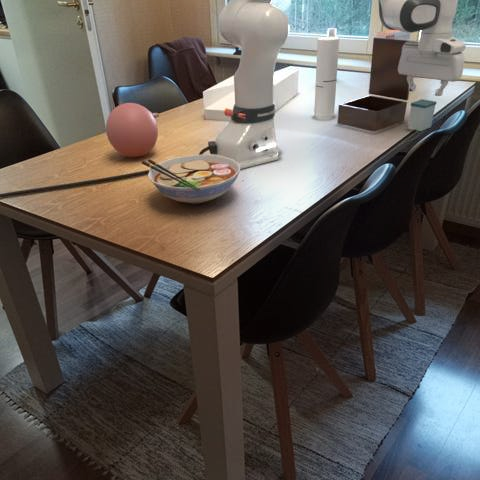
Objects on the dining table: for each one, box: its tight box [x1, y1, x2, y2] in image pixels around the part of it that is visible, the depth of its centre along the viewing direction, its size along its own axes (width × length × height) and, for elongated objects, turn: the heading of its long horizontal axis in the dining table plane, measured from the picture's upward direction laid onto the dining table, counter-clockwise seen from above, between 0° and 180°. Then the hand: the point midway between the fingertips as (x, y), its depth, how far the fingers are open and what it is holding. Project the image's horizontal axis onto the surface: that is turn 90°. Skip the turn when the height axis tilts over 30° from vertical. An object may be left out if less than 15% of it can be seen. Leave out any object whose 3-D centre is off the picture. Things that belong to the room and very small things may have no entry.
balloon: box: [105, 102, 160, 158], centre depth 149 cm, size 15×20×15 cm
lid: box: [368, 37, 417, 102], centre depth 163 cm, size 17×16×5 cm
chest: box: [337, 94, 408, 133], centre depth 165 cm, size 17×16×7 cm
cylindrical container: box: [313, 36, 340, 119], centre depth 169 cm, size 7×7×25 cm
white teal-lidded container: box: [407, 98, 437, 132], centre depth 157 cm, size 6×5×8 cm
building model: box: [202, 69, 299, 122], centre depth 192 cm, size 45×22×10 cm, turn 157°
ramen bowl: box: [141, 153, 241, 205], centre depth 121 cm, size 25×23×8 cm
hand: (424, 93), depth 153 cm, fingers open, 8 cm apart
